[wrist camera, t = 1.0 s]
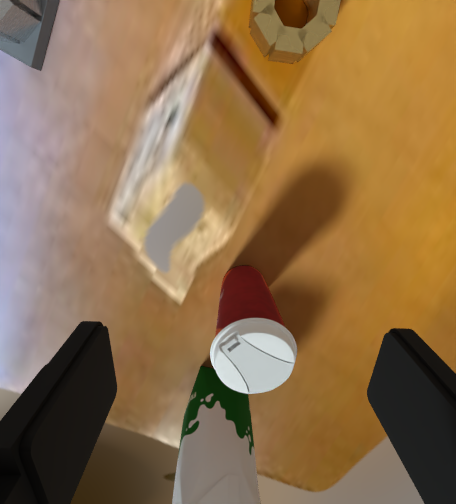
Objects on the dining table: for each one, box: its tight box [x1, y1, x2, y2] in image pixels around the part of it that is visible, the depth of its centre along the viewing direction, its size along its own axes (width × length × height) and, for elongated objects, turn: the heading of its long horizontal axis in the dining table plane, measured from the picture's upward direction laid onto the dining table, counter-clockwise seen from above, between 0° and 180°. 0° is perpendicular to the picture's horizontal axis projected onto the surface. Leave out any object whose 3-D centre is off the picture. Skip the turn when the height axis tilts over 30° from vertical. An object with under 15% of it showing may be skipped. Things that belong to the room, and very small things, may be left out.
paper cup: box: [210, 265, 297, 394], centre depth 30 cm, size 8×8×14 cm
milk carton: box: [172, 366, 261, 504], centre depth 34 cm, size 9×9×20 cm
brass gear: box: [249, 0, 341, 64], centre depth 24 cm, size 7×7×4 cm
